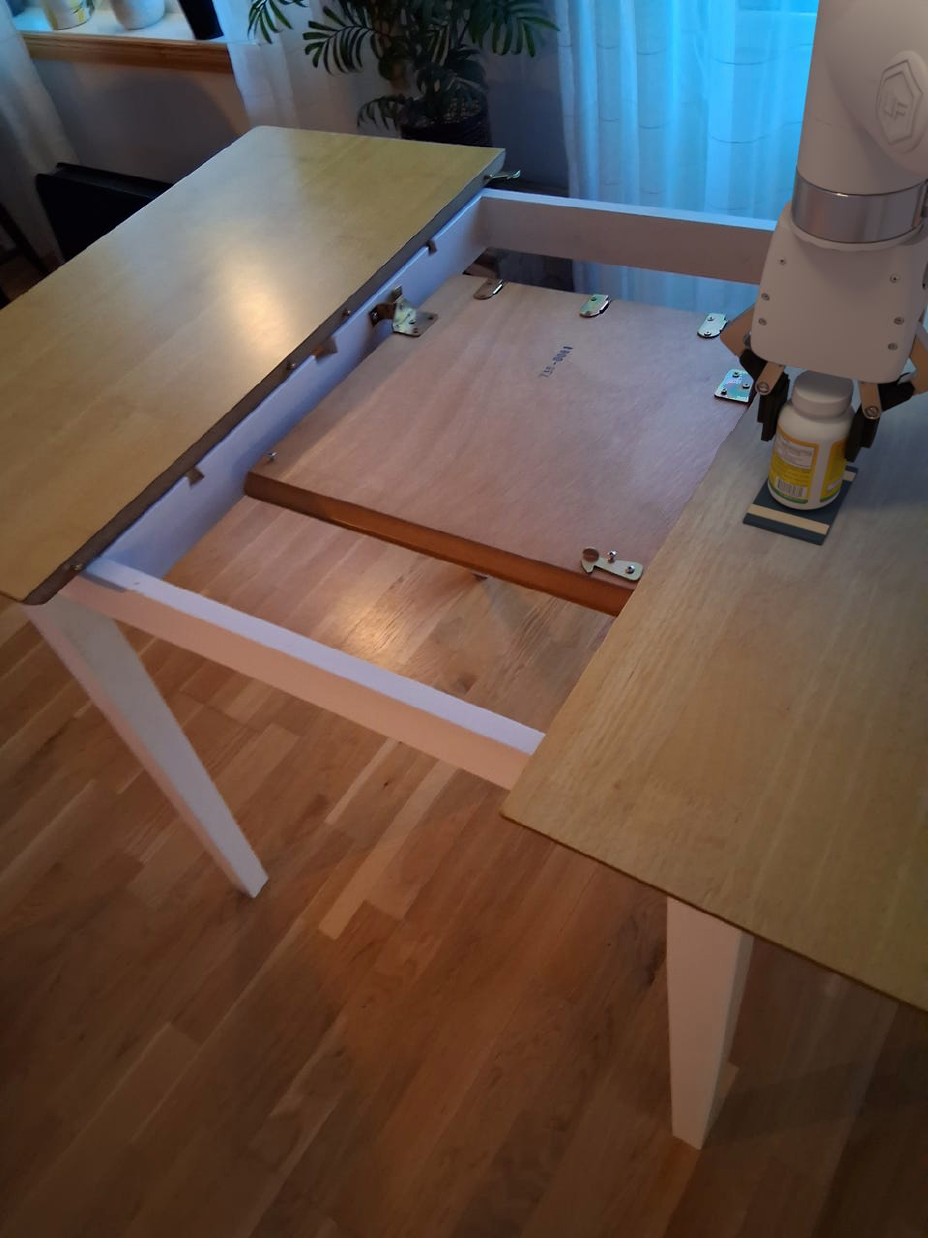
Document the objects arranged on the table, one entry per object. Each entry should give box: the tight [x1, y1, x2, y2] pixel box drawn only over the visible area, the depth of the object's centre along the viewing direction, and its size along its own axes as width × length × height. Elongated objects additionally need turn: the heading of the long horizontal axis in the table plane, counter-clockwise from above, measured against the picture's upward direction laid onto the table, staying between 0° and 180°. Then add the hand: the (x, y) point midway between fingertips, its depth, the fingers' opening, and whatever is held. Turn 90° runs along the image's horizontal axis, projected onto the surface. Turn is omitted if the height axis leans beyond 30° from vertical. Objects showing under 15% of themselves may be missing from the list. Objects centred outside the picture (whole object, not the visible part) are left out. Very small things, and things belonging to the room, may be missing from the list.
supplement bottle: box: [767, 370, 856, 509], centre depth 68 cm, size 5×5×10 cm
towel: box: [742, 464, 859, 546], centre depth 72 cm, size 6×9×1 cm, turn 148°
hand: (813, 438), depth 68 cm, fingers closed on supplement bottle, 5 cm apart
